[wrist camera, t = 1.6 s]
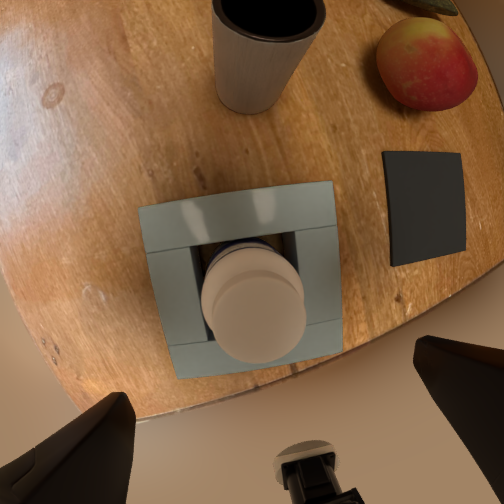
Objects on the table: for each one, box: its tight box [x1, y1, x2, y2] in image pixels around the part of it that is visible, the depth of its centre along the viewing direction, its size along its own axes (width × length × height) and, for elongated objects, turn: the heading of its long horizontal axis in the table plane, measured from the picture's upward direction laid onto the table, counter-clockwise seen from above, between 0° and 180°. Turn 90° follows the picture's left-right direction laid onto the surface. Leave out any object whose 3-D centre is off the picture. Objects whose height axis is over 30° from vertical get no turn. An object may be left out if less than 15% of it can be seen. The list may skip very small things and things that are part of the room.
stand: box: [138, 180, 343, 379], centre depth 18 cm, size 11×11×4 cm
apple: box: [377, 17, 478, 111], centre depth 15 cm, size 8×8×8 cm
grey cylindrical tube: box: [212, 0, 326, 114], centre depth 13 cm, size 4×4×10 cm
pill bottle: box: [201, 237, 306, 363], centre depth 16 cm, size 5×5×9 cm
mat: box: [382, 151, 466, 267], centre depth 21 cm, size 9×9×1 cm
